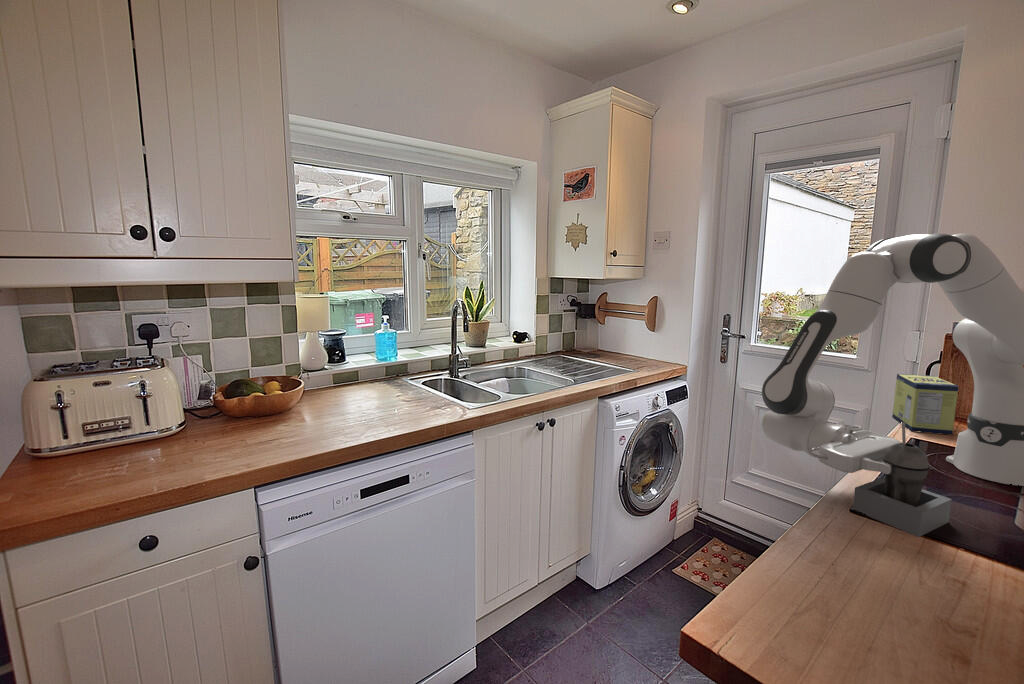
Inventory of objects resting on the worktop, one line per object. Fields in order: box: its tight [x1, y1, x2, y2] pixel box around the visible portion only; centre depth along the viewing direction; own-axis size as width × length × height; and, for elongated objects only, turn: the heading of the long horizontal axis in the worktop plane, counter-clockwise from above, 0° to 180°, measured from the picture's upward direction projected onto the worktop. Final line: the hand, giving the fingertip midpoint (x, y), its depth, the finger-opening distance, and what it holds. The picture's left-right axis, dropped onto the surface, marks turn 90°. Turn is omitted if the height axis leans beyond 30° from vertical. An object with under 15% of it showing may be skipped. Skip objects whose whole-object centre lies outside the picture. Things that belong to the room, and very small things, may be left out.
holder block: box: [852, 476, 953, 538], centre depth 95 cm, size 12×12×5 cm
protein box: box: [891, 373, 959, 435], centre depth 148 cm, size 10×16×16 cm
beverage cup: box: [883, 423, 930, 507], centre depth 93 cm, size 7×7×20 cm
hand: (904, 465), depth 93 cm, fingers open, 8 cm apart
